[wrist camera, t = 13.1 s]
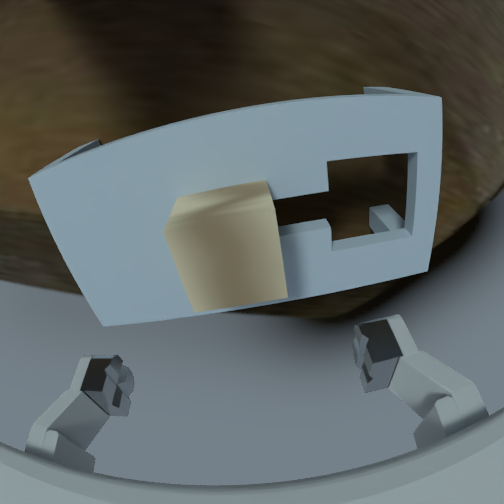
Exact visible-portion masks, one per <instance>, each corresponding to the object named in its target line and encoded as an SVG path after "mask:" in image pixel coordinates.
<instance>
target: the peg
mask: <svg viewBox="0 0 504 504" xmlns="http://www.w3.org/2000/svg"><path fill="white" fill-rule="evenodd" d="M163 233H164V236H165V238H166V241H167V244H168V247H169V249H170V252H171V255H172V258H173V260H174V263H175V265H176V268H177V271H178V273H179V276H180V278H181V281H182V284H183V286H184V289H185V291H186V294H187V296H188V299H189V301H190V303H191V306H192V308H193V311H194V313H195V312H202V311H209V310H216V309H223V308H229V307H235V306H242V305H248V304H254V303H260V302H266V301H271V300H277V299H283V298H288V295H287V287H286V280H285V273H284V266H283V259H282V252H281V245H280V238H279V231H278V225H277V218H276V212H275V208H274V204H273V201H272V197H271V194H270V191H269V187H268V184H267V181H266V180H261V181H255V182H250V183H244V184H239V185H234V186H229V187H224V188H219V189H214V190H209V191H204V192H199V193H195V194H190V195H186V196H181V197H177V200H176V202H175V204H174V207H173V209H172V211H171V214H170V216H169V219H168V221H167V223H166V226H165V228H164V231H163Z"/></svg>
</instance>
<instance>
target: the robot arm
mask: <svg viewBox="0 0 504 504" xmlns="http://www.w3.org/2000/svg"><path fill="white" fill-rule="evenodd" d="M354 332H355V335H356V338H355V339H354V340H353V355H354V359H355V363H356V366H357V367H358V368H360V369H361V374H360V379H361V382H362V385H363V388H364V392H365V393H368V392H372V391H376V390H380V389H384V388H388V387H389V389H390V390H391V391H392V392H393V393H394V394H395V395H396V396H397V397H399V398H400V399H401V400H402V401H403V402H404V403H406V404H407V405H408V406H409V407H410V408H411V409H412V410H413V411H415V412H416V413H417V414H418V415H419V416H420V417H422V418H423V421H422V422H421V423H420V425H419V426H418V427H417V429H416V430H415V431H414V433H413V435H414V438H415V441H416V444H417V448H418V449H416V450H413V451H411V452H408V453H405V454H402V455H399V456H396V457H393V458H390V459H387V460H384V461H380V462H377V463H374V464H370V465H366V466H362V467H358V468H354V469H350V470H346V471H342V472H337V473H332V474H327V475H322V476H317V477H311V478H305V479H298V480H291V481H283V482H275V483H263V484H250V485H226V486H225V485H221V486H220V485H219V486H208V485H207V486H206V485H180V484H166V483H155V482H147V481H138V480H132V479H125V478H119V477H114V476H108V475H103V474H99V473H94V472H93V471H94V465H95V458H94V456H93V455H91V454H89V453H88V452H86V451H85V450H86V449H87V447H88V446H89V445H90V443H91V442H92V440H93V439H94V437H95V436H96V435H97V434H98V432H99V431H100V429H101V428H102V427H103V425H104V424H105V423H106V421H107V420H108V419H109V417H110V416H128V413H129V408H130V404H131V401H130V398H129V395H130V394H131V393H132V392H133V389H134V377H133V374H132V372H131V371H130V369H129V368H128V367H126V366H124V365H122V363H123V360H122V359H121V358H120V357H119V356H118V355H84V356H83V357H82V358H81V359H80V362H79V364H78V367H77V370H76V372H75V375H74V378H73V381H72V384H71V387H70V390H66V391H65V392H64V393H63V394H62V395H61V396H60V397H59V398H58V399H57V400H56V401H55V402H54V403H53V404H52V405H51V406H50V407H49V408H48V409H47V410H46V411H45V412H44V413H43V414H42V415H41V416H40V417H39V418H38V419H37V420H36V421H35V422H34V424H32V428H31V431H30V434H29V438H28V441H27V445H26V449H25V452H23V451H21V450H18V449H16V448H13V447H11V446H8V445H6V444H4V443H1V442H0V504H504V407H503V408H502V409H500V410H498V411H497V412H495V413H493V414H491V415H490V416H489V414H488V412H487V410H486V407H485V405H484V403H483V401H482V398H481V396H480V394H479V392H478V390H477V388H476V386H475V383H473V382H472V381H470V380H469V379H467V378H465V377H464V376H462V375H461V374H459V373H458V372H456V371H454V370H453V369H451V368H450V367H448V366H447V365H445V364H443V363H442V362H440V361H439V360H437V359H436V358H434V357H432V356H431V355H429V354H428V353H426V352H424V351H423V350H422V351H418V349H417V347H416V345H415V343H414V341H413V339H412V337H411V335H410V333H409V331H408V329H407V327H406V325H405V323H404V321H403V319H402V317H401V316H400V315H399V314H397V315H393V316H389V317H385V318H380V319H376V320H372V321H368V322H364V323H360V324H356V326H355V330H354Z"/></svg>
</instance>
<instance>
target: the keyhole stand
mask: <svg viewBox="0 0 504 504" xmlns="http://www.w3.org/2000/svg"><path fill="white" fill-rule="evenodd" d="M363 88H364V94H362V95H342V96H328V97H316V98H306V99H297V100H289V101H281V102H274V103H267V104H261V105H255V106H249V107H243V108H238V109H232V110H227V111H222V112H218V113H213V114H208V115H204V116H199V117H195V118H191V119H187V120H183V121H179V122H175V123H171V124H168V125H164V126H161V127H157V128H154V129H150V130H147V131H143V132H140V133H137V134H134V135H131V136H128V137H125V138H122V139H119V140H116V141H113V142H110V143H107V144H104V145H100V142H99V139H98V140H95V141H92V142H90V143H87V144H85V145H82V146H80V147H78V148H76V149H74V150H73V151H71V152H69V153H67V154H66V155H64V156H62V157H61V158H59V159H57V160H56V161H54V162H52V163H51V164H49V165H48V166H46V167H44V168H43V169H41V170H40V171H38V172H37V173H35V174H34V175H32V176H31V177H29V178H28V179H29V182H30V184H31V187H32V190H33V192H34V195H35V197H36V200H37V202H38V205H39V207H40V209H41V212H42V214H43V216H44V219H45V221H46V223H47V225H48V227H49V230H50V232H51V234H52V236H53V238H54V240H55V242H56V244H57V246H58V248H59V250H60V252H61V254H62V256H63V258H64V260H65V262H66V264H67V266H68V268H69V270H70V271H71V273H72V275H73V277H74V279H75V281H76V282H77V284H78V286H79V288H80V289H81V291H82V293H83V294H84V296H85V298H86V300H87V301H88V303H89V304H90V306H91V308H92V309H93V311H94V313H95V314H96V316H97V317H98V319H99V320H100V322H101V324H102V325H103V326H113V325H124V324H133V323H143V322H151V321H159V320H168V319H175V318H183V317H191V316H198V315H205V314H212V313H219V312H225V311H232V310H238V309H245V308H251V307H257V306H263V305H269V304H274V303H280V302H286V301H291V300H297V299H302V298H307V297H312V296H318V295H323V294H328V293H333V292H338V291H342V290H347V289H352V288H357V287H361V286H366V285H370V284H375V283H379V282H384V281H388V280H392V279H397V278H401V277H405V276H409V275H413V274H417V273H421V272H425V271H427V270H428V266H429V261H430V255H431V250H432V244H433V238H434V231H435V224H436V217H437V209H438V200H439V190H440V177H441V161H442V97H438V96H433V95H428V94H424V93H418V92H413V91H407V90H401V89H395V88H388V87H363ZM399 153H408V180H407V201H406V215H405V221H404V220H403V219H402V218H401V217H400V216H399V215H398V214H397V213H396V212H395V211H394V210H393V209H392V208H391V207H390V206H389V205H388V204H387V205H380V206H373V207H369V226H370V228H371V229H372V230H373V232H374V233H375V234H369V235H364V236H358V237H353V238H347V239H342V240H336V241H331V227H330V225H329V223H328V221H327V220H326V219H320V220H314V221H308V222H302V223H296V224H291V225H285V226H279V227H278V231H279V238H280V245H281V252H282V259H283V266H284V273H285V280H286V287H287V295H288V298H283V299H277V300H271V301H266V302H260V303H254V304H248V305H242V306H235V307H229V308H223V309H216V310H209V311H202V312H195V313H194V311H193V308H192V306H191V303H190V301H189V299H188V296H187V294H186V291H185V289H184V286H183V284H182V281H181V278H180V276H179V273H178V271H177V268H176V265H175V263H174V260H173V258H172V255H171V252H170V249H169V247H168V244H167V241H166V238H165V236H164V233H163V231H164V228H165V226H166V223H167V221H168V219H169V216H170V214H171V211H172V209H173V207H174V204H175V202H176V200H177V197H181V196H186V195H190V194H195V193H199V192H204V191H209V190H214V189H219V188H224V187H229V186H234V185H239V184H244V183H250V182H255V181H261V180H266V181H267V184H268V187H269V191H270V194H271V197H272V200H276V199H282V198H288V197H294V196H300V195H306V194H313V193H319V192H325V191H329V187H328V174H327V162H326V161H332V160H340V159H348V158H357V157H367V156H377V155H387V154H399Z"/></svg>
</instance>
